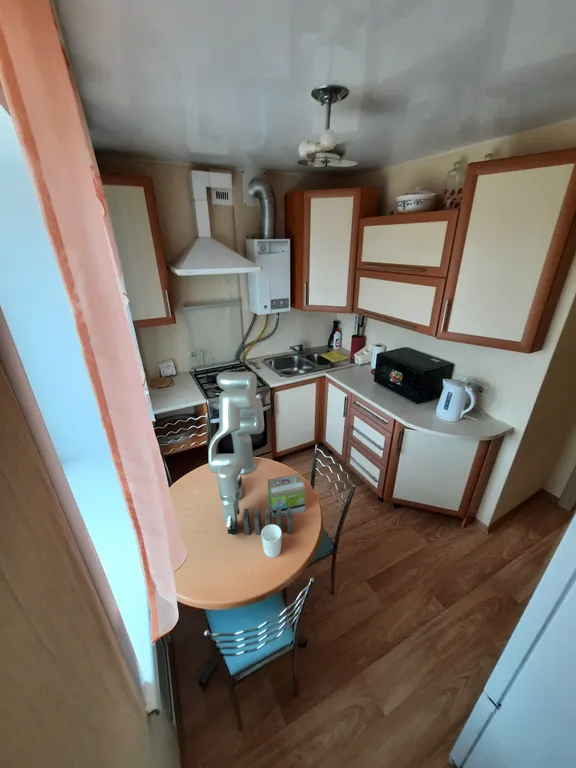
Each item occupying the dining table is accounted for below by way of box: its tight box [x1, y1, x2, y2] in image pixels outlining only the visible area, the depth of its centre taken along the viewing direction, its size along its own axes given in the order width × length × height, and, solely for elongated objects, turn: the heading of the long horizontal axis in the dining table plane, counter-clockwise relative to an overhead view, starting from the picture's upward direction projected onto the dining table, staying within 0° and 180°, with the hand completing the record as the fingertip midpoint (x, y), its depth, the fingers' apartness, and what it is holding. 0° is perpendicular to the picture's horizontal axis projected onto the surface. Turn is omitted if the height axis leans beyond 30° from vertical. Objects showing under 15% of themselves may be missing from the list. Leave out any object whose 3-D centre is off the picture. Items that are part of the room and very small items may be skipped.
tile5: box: [286, 508, 293, 536], centre depth 131 cm, size 5×2×10 cm, turn 0°
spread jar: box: [238, 474, 244, 500], centre depth 150 cm, size 12×11×12 cm
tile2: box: [253, 507, 262, 536], centre depth 131 cm, size 5×2×10 cm, turn 0°
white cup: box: [260, 523, 282, 559], centre depth 123 cm, size 8×8×10 cm
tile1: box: [242, 507, 252, 536], centre depth 131 cm, size 5×2×10 cm, turn 0°
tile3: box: [264, 507, 272, 526], centre depth 131 cm, size 5×2×10 cm, turn 0°
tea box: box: [267, 473, 306, 519], centre depth 141 cm, size 15×10×15 cm
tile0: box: [231, 517, 239, 536], centre depth 131 cm, size 5×2×10 cm, turn 0°
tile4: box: [275, 508, 283, 532], centre depth 131 cm, size 5×2×10 cm, turn 0°
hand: (234, 523), depth 132 cm, fingers open, 9 cm apart
